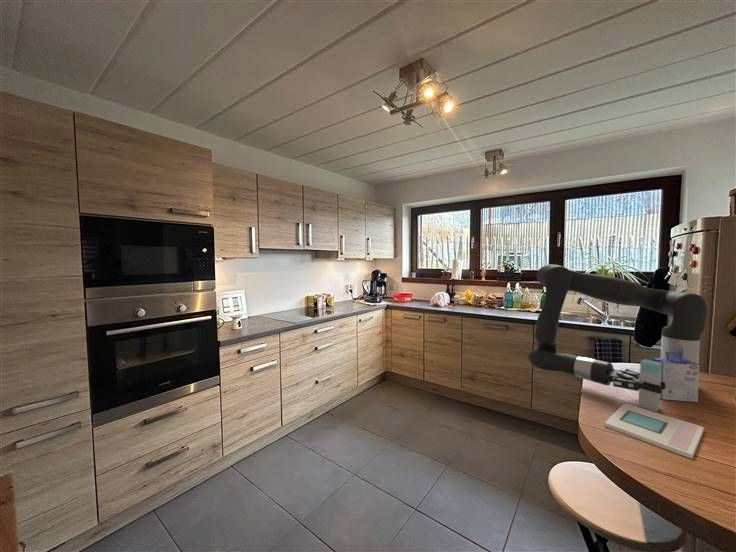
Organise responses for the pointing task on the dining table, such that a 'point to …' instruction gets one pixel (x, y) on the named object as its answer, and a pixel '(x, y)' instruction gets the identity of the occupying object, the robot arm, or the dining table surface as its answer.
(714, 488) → the dining table surface
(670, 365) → the ink cartridge box
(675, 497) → the dining table surface
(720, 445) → the dining table surface
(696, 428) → the picture board
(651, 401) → the teal-capped square post
